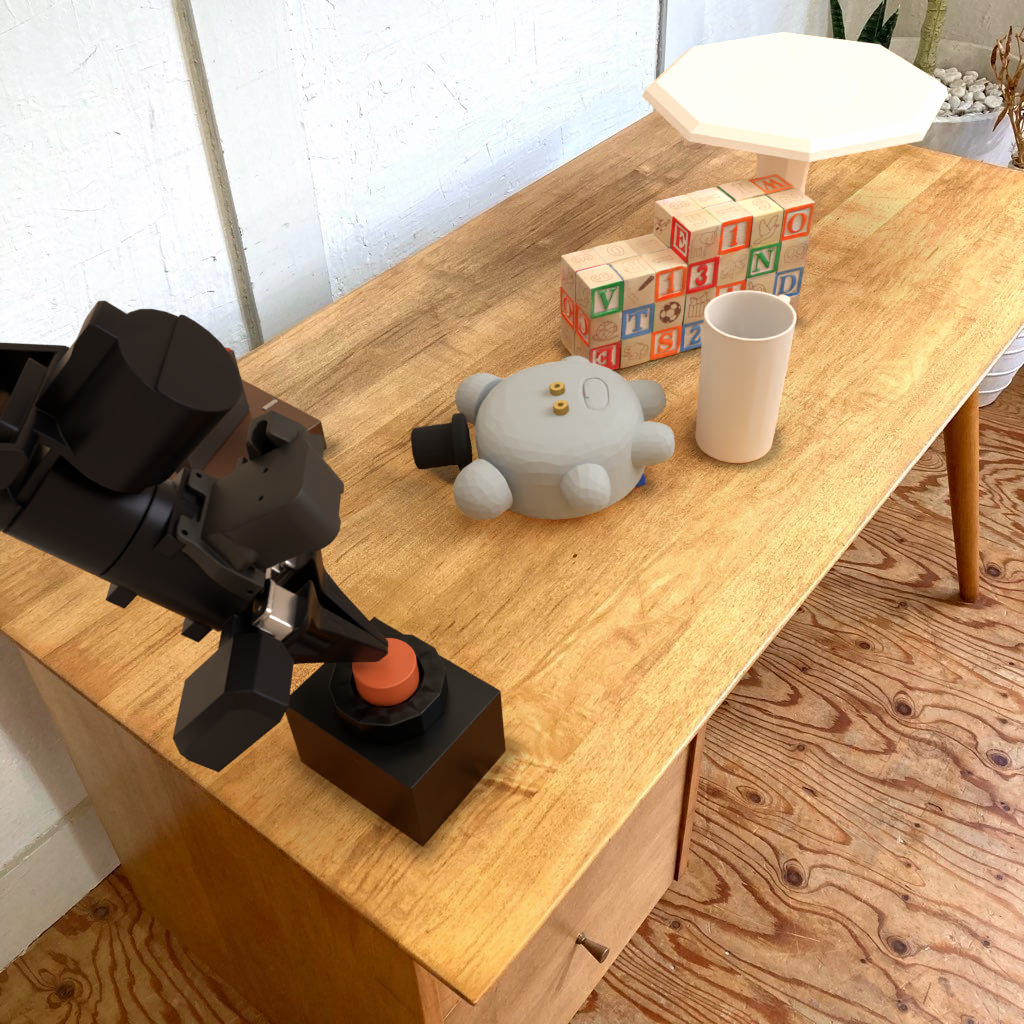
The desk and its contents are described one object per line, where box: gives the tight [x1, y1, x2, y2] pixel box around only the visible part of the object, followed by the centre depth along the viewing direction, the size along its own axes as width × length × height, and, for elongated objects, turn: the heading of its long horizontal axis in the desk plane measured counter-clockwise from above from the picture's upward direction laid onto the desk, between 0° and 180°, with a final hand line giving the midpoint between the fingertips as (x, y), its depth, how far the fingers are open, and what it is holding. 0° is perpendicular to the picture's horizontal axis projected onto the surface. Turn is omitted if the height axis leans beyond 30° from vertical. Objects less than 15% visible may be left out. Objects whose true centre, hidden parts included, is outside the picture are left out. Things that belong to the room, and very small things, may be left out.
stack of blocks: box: [559, 174, 816, 371], centre depth 93 cm, size 21×6×12 cm, turn 112°
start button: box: [352, 638, 419, 707], centre depth 60 cm, size 4×4×2 cm
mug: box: [695, 290, 797, 464], centre depth 83 cm, size 10×7×12 cm, turn 139°
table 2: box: [641, 31, 949, 194], centre depth 103 cm, size 28×28×17 cm
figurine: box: [410, 355, 676, 521], centre depth 82 cm, size 17×8×20 cm
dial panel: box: [169, 379, 328, 480], centre depth 85 cm, size 14×13×3 cm
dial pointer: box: [176, 346, 249, 474], centre depth 82 cm, size 9×2×6 cm, turn 162°
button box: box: [285, 616, 507, 847], centre depth 63 cm, size 10×8×8 cm
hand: (383, 652), depth 58 cm, fingers closed
